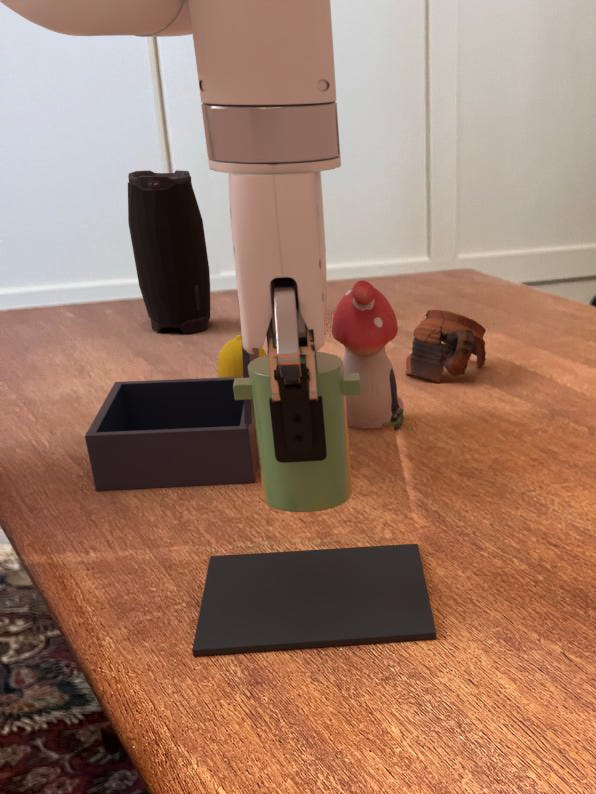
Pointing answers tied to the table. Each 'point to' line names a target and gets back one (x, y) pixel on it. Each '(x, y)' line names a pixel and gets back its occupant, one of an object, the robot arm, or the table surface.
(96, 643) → the table surface
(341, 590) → the grey mat
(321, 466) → the green pot
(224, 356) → the lemon
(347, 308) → the decorative ornament
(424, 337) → the brown carved piece
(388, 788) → the table surface
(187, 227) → the portable speaker
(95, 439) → the box
